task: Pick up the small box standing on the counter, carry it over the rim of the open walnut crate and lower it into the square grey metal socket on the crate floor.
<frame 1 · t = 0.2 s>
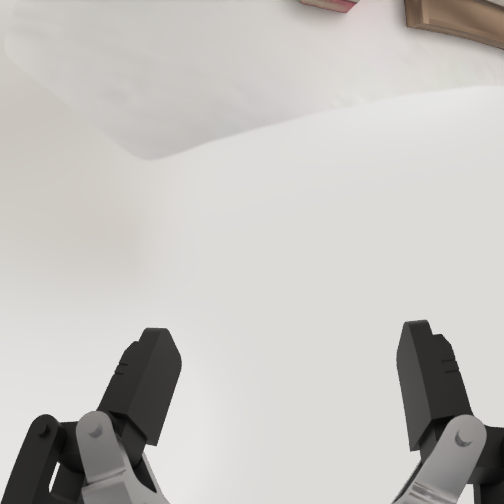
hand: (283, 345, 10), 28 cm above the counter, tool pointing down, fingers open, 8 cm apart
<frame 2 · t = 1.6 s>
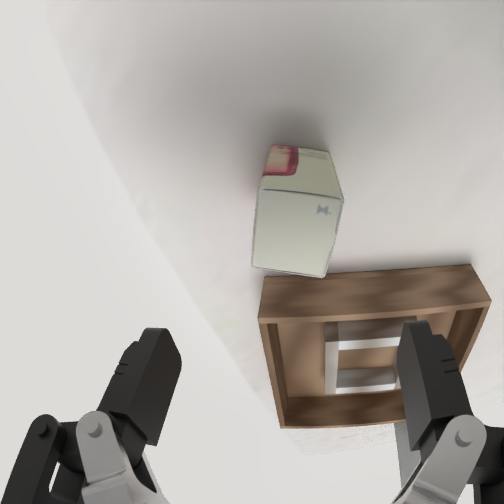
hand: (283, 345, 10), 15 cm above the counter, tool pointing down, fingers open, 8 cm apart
small box: (296, 179, 23), on the counter
crate: (366, 344, 31), on the counter
skincare box: (414, 402, 37), on the counter
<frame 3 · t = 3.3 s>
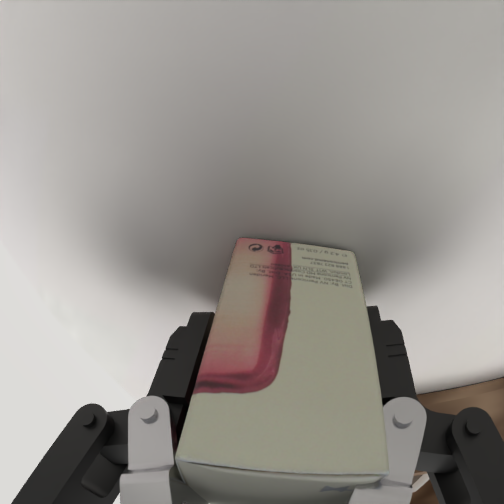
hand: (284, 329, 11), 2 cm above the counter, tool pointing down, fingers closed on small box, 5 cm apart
small box: (287, 291, 13), on the counter, touching gripper
crate: (375, 453, 21), on the counter
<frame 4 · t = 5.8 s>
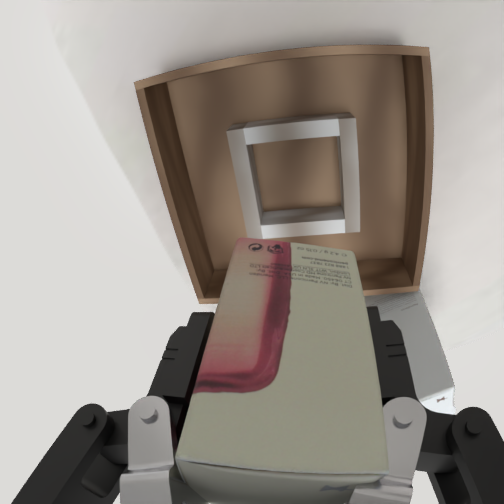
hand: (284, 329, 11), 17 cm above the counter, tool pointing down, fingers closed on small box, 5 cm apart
small box: (287, 291, 13), point 15 cm above the counter, touching gripper
crate: (298, 168, 26), on the counter
skincare box: (391, 295, 32), on the counter
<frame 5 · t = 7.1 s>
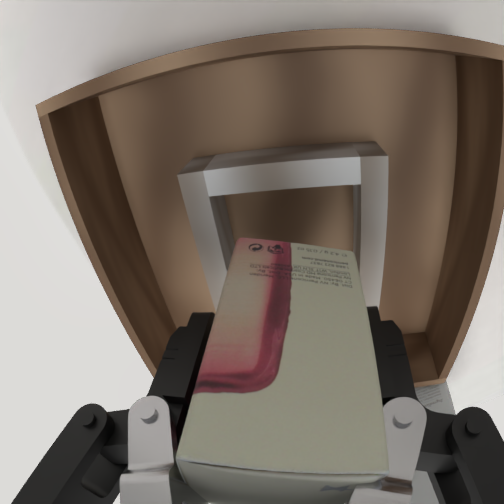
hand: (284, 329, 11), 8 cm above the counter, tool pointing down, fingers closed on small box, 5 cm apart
small box: (287, 291, 13), point 6 cm above the counter, touching gripper
crate: (292, 221, 18), on the counter
skincare box: (405, 367, 24), on the counter
when the fingers open (4 cm above the counter, at t = 8.3 s): small box drops 1 cm, resting on crate.
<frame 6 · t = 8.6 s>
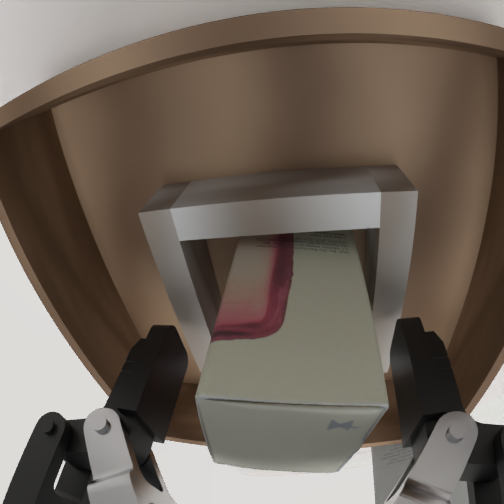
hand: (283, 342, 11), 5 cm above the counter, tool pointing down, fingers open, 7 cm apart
small box: (293, 267, 14), point 1 cm above the counter, touching crate
crate: (289, 260, 15), on the counter
skincare box: (411, 404, 21), on the counter
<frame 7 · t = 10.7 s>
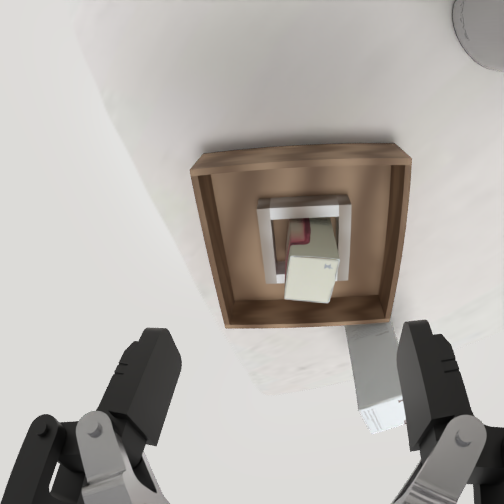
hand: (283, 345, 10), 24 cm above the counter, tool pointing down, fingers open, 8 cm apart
small box: (307, 233, 34), point 1 cm above the counter, touching crate
crate: (304, 231, 35), on the counter
skincare box: (369, 321, 41), on the counter
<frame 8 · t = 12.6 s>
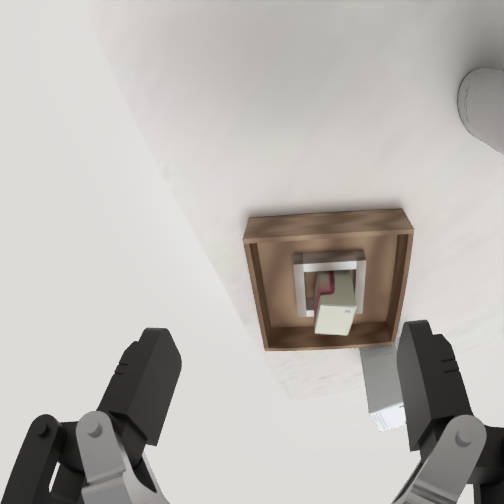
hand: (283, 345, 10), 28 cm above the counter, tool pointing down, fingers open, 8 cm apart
small box: (330, 278, 43), point 1 cm above the counter, touching crate
crate: (328, 275, 43), on the counter
skincare box: (379, 340, 50), on the counter
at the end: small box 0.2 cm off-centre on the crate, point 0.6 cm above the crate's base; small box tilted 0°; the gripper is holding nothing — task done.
